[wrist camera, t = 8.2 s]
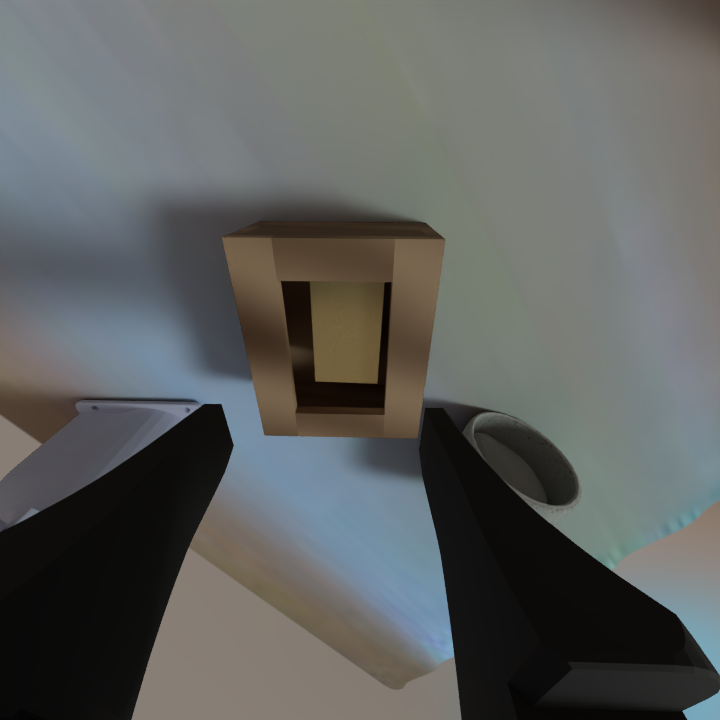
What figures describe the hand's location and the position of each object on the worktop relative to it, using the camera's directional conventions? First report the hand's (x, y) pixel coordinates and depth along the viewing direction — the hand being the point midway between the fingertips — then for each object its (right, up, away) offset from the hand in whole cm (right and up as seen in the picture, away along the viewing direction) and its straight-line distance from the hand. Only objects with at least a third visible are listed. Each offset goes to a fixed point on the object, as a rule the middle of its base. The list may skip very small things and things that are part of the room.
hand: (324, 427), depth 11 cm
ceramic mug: (+12, -5, +15) cm, 20 cm away
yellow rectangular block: (+1, +5, +8) cm, 9 cm away
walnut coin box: (0, +5, +8) cm, 10 cm away
